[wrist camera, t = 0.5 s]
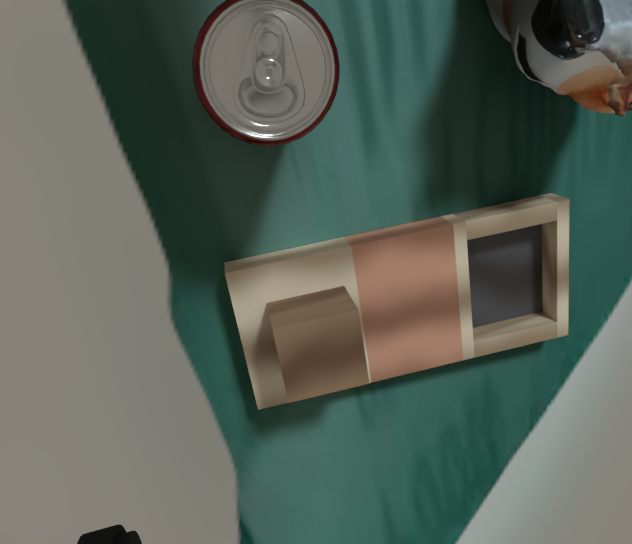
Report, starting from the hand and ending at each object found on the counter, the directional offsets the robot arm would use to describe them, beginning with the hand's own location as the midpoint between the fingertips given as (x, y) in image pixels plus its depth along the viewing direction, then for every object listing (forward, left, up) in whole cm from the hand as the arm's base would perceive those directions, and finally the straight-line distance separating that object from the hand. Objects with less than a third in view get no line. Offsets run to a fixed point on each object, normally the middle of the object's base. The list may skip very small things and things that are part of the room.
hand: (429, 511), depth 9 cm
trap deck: (+12, +9, -33) cm, 36 cm away
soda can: (-7, +1, -33) cm, 34 cm away
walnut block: (+12, +1, -31) cm, 33 cm away
